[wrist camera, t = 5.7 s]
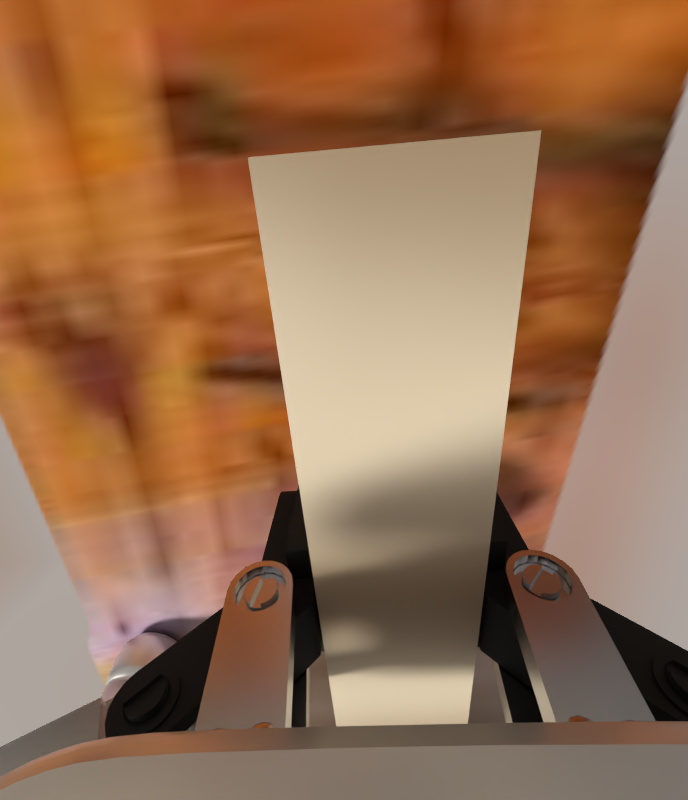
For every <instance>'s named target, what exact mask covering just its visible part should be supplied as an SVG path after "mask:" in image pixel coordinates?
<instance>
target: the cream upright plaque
mask: <svg viewBox="0 0 688 800" xmlns="http://www.w3.org/2000/svg"><path fill="white" fill-rule="evenodd" d="M540 137H541V130H540V131H529V132H518V133H508V134H497V135H486V136H475V137H464V138H453V139H443V140H432V141H421V142H410V143H399V144H388V145H378V146H367V147H356V148H345V149H334V150H323V151H312V152H302V153H291V154H280V155H269V156H258V157H248V162H249V168H250V175H251V181H252V188H253V194H254V200H255V207H256V213H257V220H258V226H259V233H260V239H261V245H262V252H263V258H264V265H265V271H266V278H267V284H268V290H269V297H270V303H271V310H272V316H273V323H274V329H275V336H276V342H277V348H278V355H279V361H280V368H281V374H282V381H283V387H284V393H285V400H286V406H287V413H288V419H289V426H290V432H291V438H292V445H293V451H294V458H295V464H296V471H297V477H298V483H299V490H300V496H301V503H302V509H303V516H304V522H305V529H306V535H307V541H308V548H309V554H310V561H311V567H312V574H313V580H314V586H315V593H316V599H317V606H318V612H319V619H320V625H321V631H322V638H323V644H324V651H322V652H321V655H320V656H319V658H318V659H317V660H316V661H315V662H314V663H313V664H312V665H311V666H310V667H309V670H310V687H309V727H334V726H378V725H426V724H479V723H506V721H505V717H504V712H503V708H502V704H501V700H500V695H499V691H498V687H497V682H496V678H495V674H494V670H493V664H492V659H491V658H490V657H489V656H487V655H486V654H485V653H483V652H482V651H481V650H480V647H477V645H478V637H479V629H480V621H481V613H482V605H483V597H484V589H485V580H486V572H487V564H488V556H489V548H490V540H491V532H492V524H493V516H494V508H495V500H496V492H497V484H498V476H499V468H500V459H501V451H502V443H503V435H504V427H505V419H506V411H507V403H508V395H509V387H510V379H511V371H512V363H513V355H514V347H515V338H516V330H517V322H518V314H519V306H520V298H521V290H522V282H523V274H524V266H525V258H526V250H527V242H528V234H529V226H530V218H531V209H532V201H533V193H534V185H535V177H536V169H537V161H538V153H539V145H540Z"/></svg>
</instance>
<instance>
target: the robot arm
mask: <svg viewBox="0 0 688 800" xmlns="http://www.w3.org/2000/svg"><path fill="white" fill-rule="evenodd" d="M477 647H480V650H481V651H482V652H483V653H485V654H486V655H487V656H489V657H490V658H491V659H492V664H493V670H494V674H495V678H496V682H497V687H498V691H499V695H500V700H501V704H502V708H503V712H504V717H505V721H506V723H479V724H426V725H378V726H334V727H309V687H310V670H309V667H310V666H311V665H312V664H313V663H314V662H315V661H316V660H317V659H318V658H319V656H320V655H321V652H322V651H324V644H323V638H322V631H321V625H320V619H319V612H318V606H317V599H316V593H315V586H314V580H313V574H312V567H311V561H310V554H309V548H308V541H307V535H306V529H305V522H304V516H303V509H302V503H301V496H300V490H299V485H298V490H297V491H286V492H281V493H280V496H279V499H278V503H277V507H276V510H275V514H274V518H273V522H272V525H271V529H270V533H269V537H268V540H267V544H266V548H265V552H264V555H263V559H262V561H261V562H257V563H254V564H252V565H250V566H247V567H245V568H244V569H243V570H242V571H240V572H239V573H238V574H237V575H236V576H235V578H234V579H233V580H232V581H231V583H230V586H229V588H228V590H227V594H226V598H225V603H224V607H223V608H222V609H220V610H219V611H218V612H216V613H215V614H214V615H212V616H211V617H210V618H208V619H207V620H206V621H204V622H203V623H202V624H200V625H199V626H197V627H196V628H195V629H193V630H192V631H191V632H189V633H188V634H187V635H185V636H184V637H183V638H181V639H180V640H179V641H177V642H176V643H175V644H173V645H172V646H171V647H169V648H168V649H167V650H165V651H164V652H163V653H161V654H160V655H159V656H157V657H156V658H155V659H153V660H152V661H151V662H149V663H148V664H147V665H145V666H144V667H143V668H141V669H140V670H139V671H137V672H136V673H135V674H134V675H133V676H132V677H130V678H129V679H128V680H127V681H126V682H125V683H124V684H123V686H122V687H121V688H120V689H119V691H118V692H117V693H116V695H115V696H114V697H113V698H111V699H109V700H107V701H105V702H104V701H103V699H102V697H101V698H99V699H97V700H95V701H93V702H91V703H89V704H87V705H85V706H83V707H81V708H78V709H76V710H74V711H73V712H70V713H68V714H66V715H64V716H62V717H60V718H58V719H56V720H54V721H52V722H50V723H48V724H46V725H44V726H42V727H40V728H38V729H36V730H34V731H32V732H30V733H28V734H26V735H24V736H22V737H20V738H18V739H16V740H14V741H12V742H10V743H8V744H6V745H3V746H1V747H0V800H688V651H687V650H685V649H683V648H681V647H679V646H677V645H675V644H674V643H672V642H670V641H668V640H666V639H664V638H663V637H661V636H659V635H657V634H655V633H653V632H651V631H650V630H648V629H646V628H644V627H642V626H640V625H638V624H637V623H635V622H633V621H631V620H629V619H627V618H626V617H624V616H622V615H620V614H618V613H616V612H614V611H613V610H611V609H609V608H607V607H605V606H603V605H601V604H599V603H598V602H596V601H594V600H592V599H590V598H589V596H588V594H587V592H586V590H585V588H584V586H583V585H582V583H581V581H580V579H579V577H578V576H577V575H576V573H575V572H574V571H573V569H572V568H571V567H569V566H568V565H567V564H566V563H565V562H563V561H562V560H560V559H558V558H557V557H555V556H553V555H550V554H548V553H545V552H542V551H536V550H529V549H528V548H527V546H526V544H525V542H524V540H523V539H522V537H521V535H520V533H519V531H518V530H517V528H516V526H515V524H514V522H513V521H512V519H511V517H510V515H509V513H508V512H507V510H506V508H505V506H504V504H503V503H502V501H501V499H500V497H499V495H498V494H497V492H496V500H495V508H494V516H493V524H492V532H491V540H490V548H489V556H488V564H487V572H486V580H485V589H484V597H483V605H482V613H481V621H480V629H479V637H478V645H477Z"/></svg>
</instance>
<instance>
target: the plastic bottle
mask: <svg viewBox="0 0 688 800" xmlns="http://www.w3.org/2000/svg"><path fill="white" fill-rule="evenodd" d="M176 642H177V641H176V640H174V639H173V638H171V637H169V636H167V635H164V634H161V633H155V632H147V633H142V634H140V635H138V636H136V637H135V638H133V639H132V640H130V641H129V642H128V643H127V644H126V645H125V646H124V648H123V649H122V650H121V652H120V653H119V654H118V656H117V657H116V659H115V661H114V663H113V666H112V668H111V671H110V673H109V675H108V678H107V681H106V684H105V689H104V691H103V693H102V696H101V697H102V699H103V701H104V702H105V701H107V700H109V699H111V698H113V697H114V696H115V695H116V693H117V692H118V691H119V689H120V688H121V687H122V686H123V684H124V683H125V682H126V681H127V680H128V679H129V678H130V677H132V676H133V675H134V674H135V673H136V672H137V671H139V670H140V669H141V668H143V667H144V666H145V665H147V664H148V663H149V662H151V661H152V660H153V659H155V658H156V657H157V656H159V655H160V654H161V653H163V652H164V651H165V650H167V649H168V648H169V647H171V646H172V645H173V644H175V643H176Z"/></svg>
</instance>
